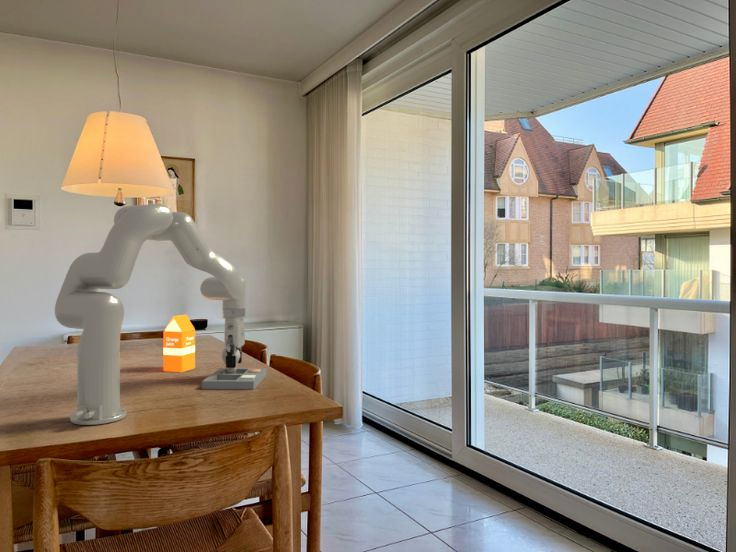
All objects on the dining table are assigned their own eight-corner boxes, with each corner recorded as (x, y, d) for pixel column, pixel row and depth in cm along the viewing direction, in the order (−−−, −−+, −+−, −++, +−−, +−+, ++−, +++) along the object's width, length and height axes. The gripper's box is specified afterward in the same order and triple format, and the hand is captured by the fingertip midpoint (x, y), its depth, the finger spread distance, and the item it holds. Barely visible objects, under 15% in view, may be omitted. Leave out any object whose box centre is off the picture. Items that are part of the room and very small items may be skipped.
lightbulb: (237, 380, 178) (234, 347, 178) (220, 380, 179) (217, 348, 179) (244, 376, 184) (242, 344, 184) (228, 376, 185) (226, 345, 185)
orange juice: (163, 371, 194) (163, 316, 194) (177, 366, 203) (177, 314, 202) (182, 372, 192) (182, 316, 192) (195, 367, 201) (195, 314, 200)
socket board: (253, 389, 166) (253, 380, 166) (202, 389, 166) (202, 380, 166) (266, 375, 188) (266, 366, 188) (221, 375, 188) (221, 366, 188)
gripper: (239, 316, 173) (238, 370, 173) (250, 311, 190) (250, 360, 190) (215, 315, 172) (215, 370, 173) (229, 311, 190) (229, 360, 190)
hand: (233, 365), depth 181 cm, fingers open, 7 cm apart
